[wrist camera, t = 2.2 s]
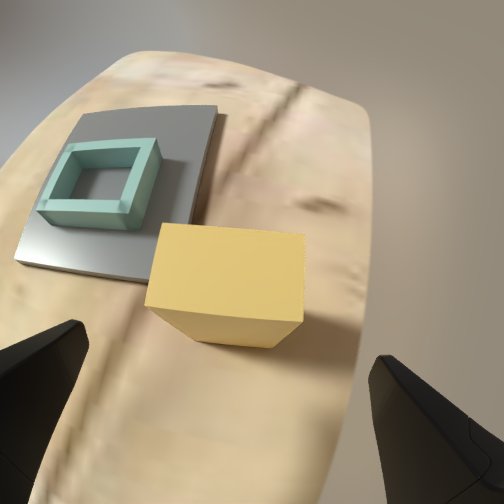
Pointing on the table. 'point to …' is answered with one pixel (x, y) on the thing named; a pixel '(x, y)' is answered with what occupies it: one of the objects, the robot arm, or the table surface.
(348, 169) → the table surface
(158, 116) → the plate
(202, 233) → the block
